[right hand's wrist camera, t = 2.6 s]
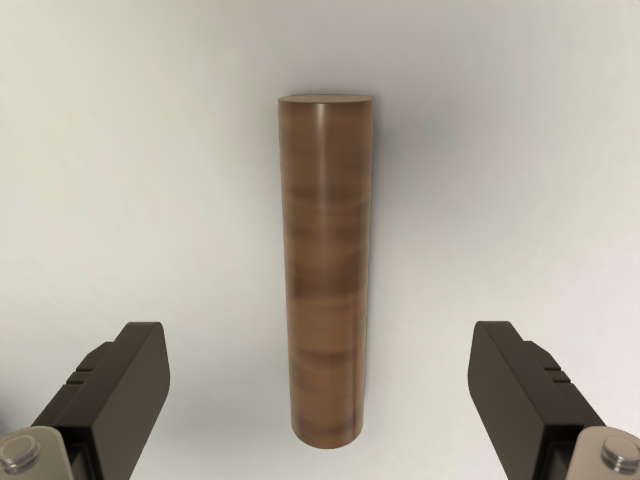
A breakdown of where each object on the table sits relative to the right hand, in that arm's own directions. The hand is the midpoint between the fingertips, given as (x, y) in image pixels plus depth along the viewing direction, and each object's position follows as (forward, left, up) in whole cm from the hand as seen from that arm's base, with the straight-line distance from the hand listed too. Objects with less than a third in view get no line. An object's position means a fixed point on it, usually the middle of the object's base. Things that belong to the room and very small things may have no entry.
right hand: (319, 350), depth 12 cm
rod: (+5, +6, -22) cm, 24 cm away
